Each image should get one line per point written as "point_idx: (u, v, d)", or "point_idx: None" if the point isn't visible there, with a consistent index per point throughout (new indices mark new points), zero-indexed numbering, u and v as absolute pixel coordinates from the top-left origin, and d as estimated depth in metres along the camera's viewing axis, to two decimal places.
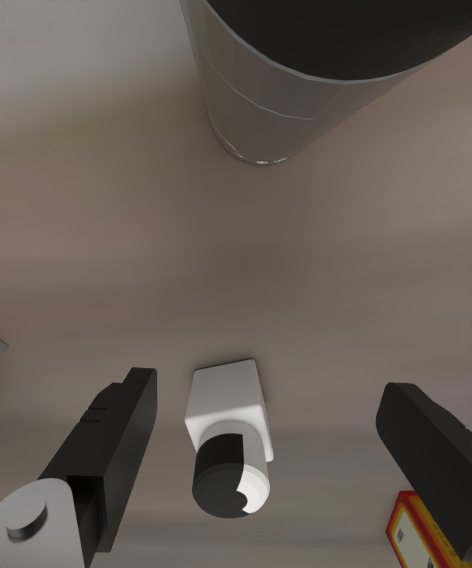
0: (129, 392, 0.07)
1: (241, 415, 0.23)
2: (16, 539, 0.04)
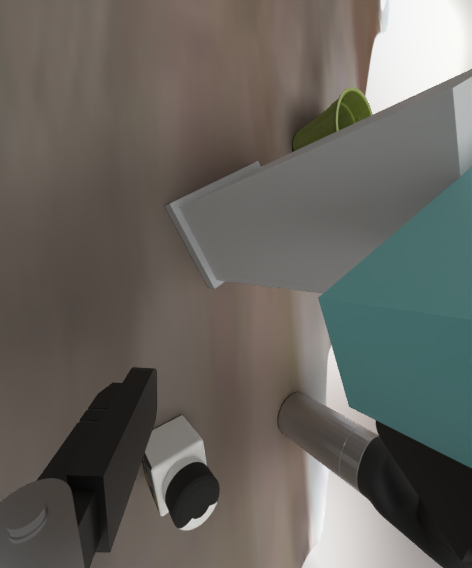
0: (129, 392, 0.07)
1: None
2: (16, 539, 0.04)
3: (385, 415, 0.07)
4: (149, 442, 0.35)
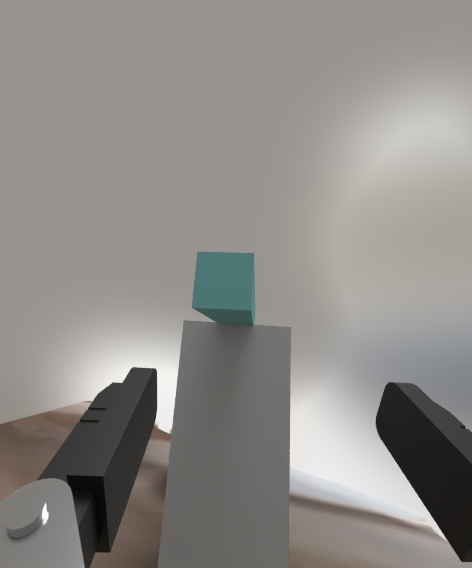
0: (129, 392, 0.07)
1: None
2: (16, 539, 0.04)
3: (245, 293, 0.17)
4: None
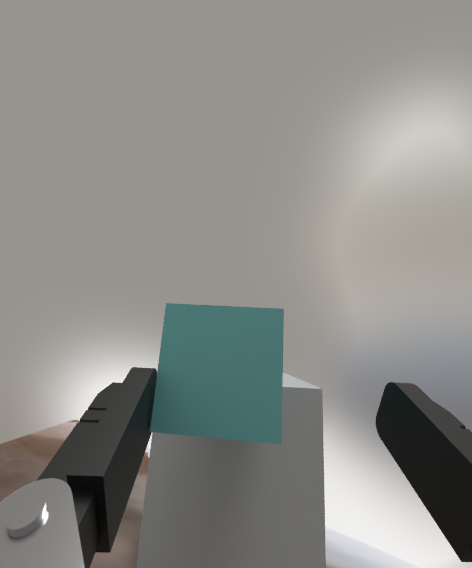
0: (129, 392, 0.07)
1: None
2: (16, 539, 0.04)
3: (268, 401, 0.08)
4: None
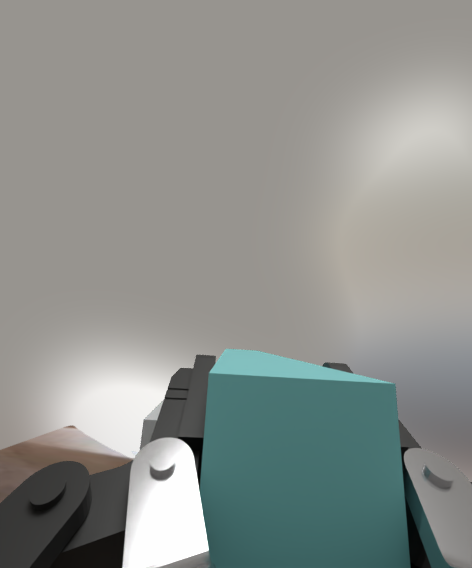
0: (202, 374, 0.08)
1: None
2: (163, 479, 0.05)
3: (386, 543, 0.05)
4: None
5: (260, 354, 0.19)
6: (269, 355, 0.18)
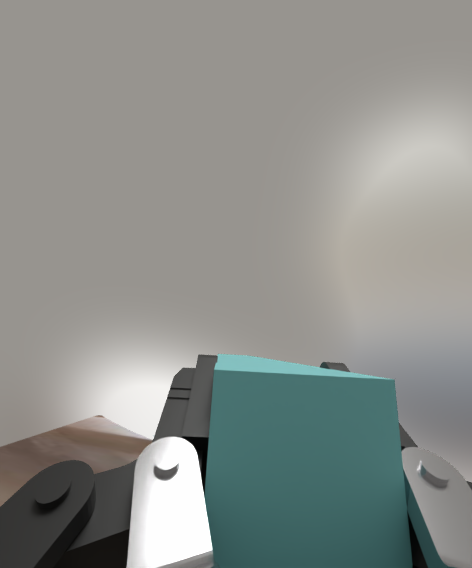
0: (205, 374, 0.08)
1: None
2: (167, 478, 0.05)
3: (387, 535, 0.05)
4: None
5: (254, 358, 0.19)
6: None
